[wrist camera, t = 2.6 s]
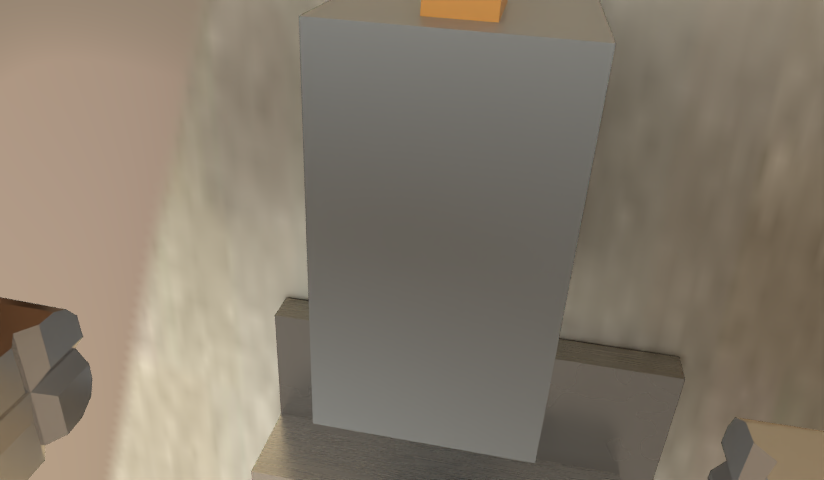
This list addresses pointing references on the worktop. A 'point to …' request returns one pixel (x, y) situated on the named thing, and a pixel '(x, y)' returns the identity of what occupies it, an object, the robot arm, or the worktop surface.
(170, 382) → the worktop surface
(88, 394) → the robot arm
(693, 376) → the worktop surface
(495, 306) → the module
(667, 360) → the grey ledge plate
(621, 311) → the worktop surface
